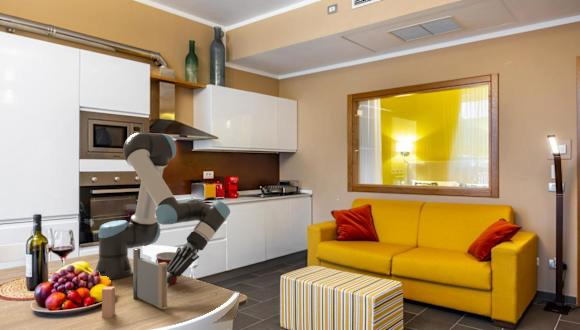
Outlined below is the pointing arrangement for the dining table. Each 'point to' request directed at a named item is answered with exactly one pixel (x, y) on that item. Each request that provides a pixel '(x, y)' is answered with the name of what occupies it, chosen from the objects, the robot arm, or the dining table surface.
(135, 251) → the gate post
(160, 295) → the panel
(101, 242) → the robot arm
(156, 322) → the dining table surface
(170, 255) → the plastic cup
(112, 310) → the post
